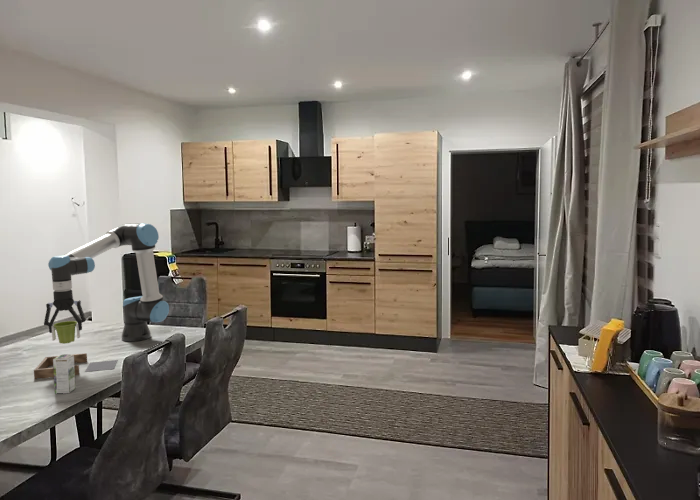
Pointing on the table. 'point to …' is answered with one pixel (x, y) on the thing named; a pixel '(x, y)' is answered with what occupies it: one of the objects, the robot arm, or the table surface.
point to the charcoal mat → (101, 365)
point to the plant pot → (66, 331)
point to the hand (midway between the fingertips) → (66, 338)
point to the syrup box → (64, 373)
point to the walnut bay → (45, 372)
